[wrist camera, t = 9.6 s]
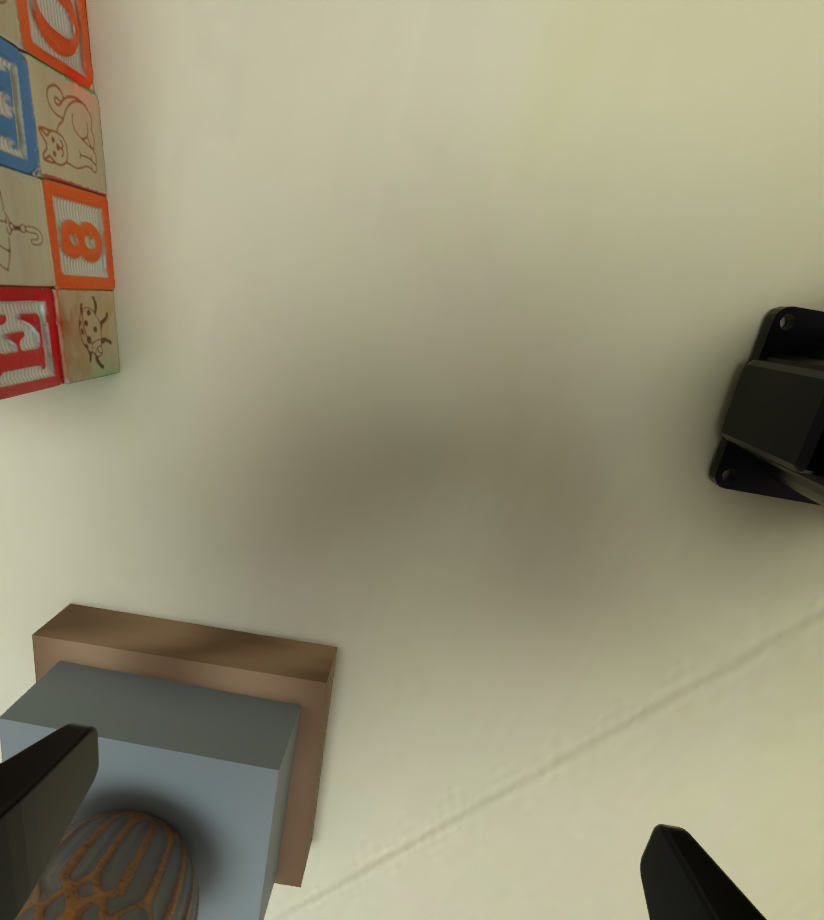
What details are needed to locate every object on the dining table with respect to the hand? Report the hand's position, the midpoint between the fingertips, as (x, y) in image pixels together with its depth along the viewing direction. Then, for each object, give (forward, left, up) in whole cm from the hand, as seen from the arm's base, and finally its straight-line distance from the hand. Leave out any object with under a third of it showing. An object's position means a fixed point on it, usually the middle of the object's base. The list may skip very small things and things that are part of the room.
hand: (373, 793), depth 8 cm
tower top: (+8, +14, -10) cm, 19 cm away
